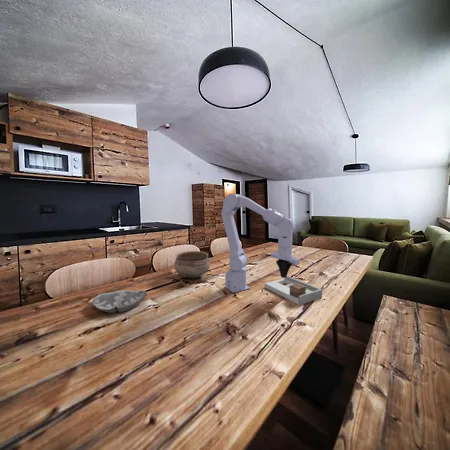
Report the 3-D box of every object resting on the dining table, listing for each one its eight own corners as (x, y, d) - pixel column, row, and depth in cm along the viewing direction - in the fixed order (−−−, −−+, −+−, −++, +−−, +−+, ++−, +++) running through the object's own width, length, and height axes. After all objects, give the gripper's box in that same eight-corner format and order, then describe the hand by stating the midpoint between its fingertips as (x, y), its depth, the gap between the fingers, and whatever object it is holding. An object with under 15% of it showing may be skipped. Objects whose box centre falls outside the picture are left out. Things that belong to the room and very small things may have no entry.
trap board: (299, 305, 86) (300, 296, 86) (264, 287, 104) (264, 280, 103) (321, 297, 93) (322, 289, 93) (285, 282, 111) (285, 275, 110)
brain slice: (84, 320, 75) (83, 312, 75) (98, 299, 91) (98, 292, 91) (144, 313, 80) (144, 305, 80) (148, 294, 96) (147, 287, 96)
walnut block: (298, 298, 88) (298, 288, 87) (289, 294, 91) (289, 285, 91) (305, 295, 90) (306, 286, 89) (297, 292, 94) (297, 283, 93)
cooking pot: (220, 279, 114) (220, 256, 113) (187, 288, 102) (187, 262, 101) (196, 268, 134) (195, 248, 132) (166, 274, 122) (166, 252, 121)
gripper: (305, 248, 89) (303, 280, 91) (279, 242, 101) (278, 270, 103) (293, 250, 85) (291, 283, 87) (267, 243, 98) (267, 273, 99)
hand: (283, 276), depth 95 cm, fingers closed
